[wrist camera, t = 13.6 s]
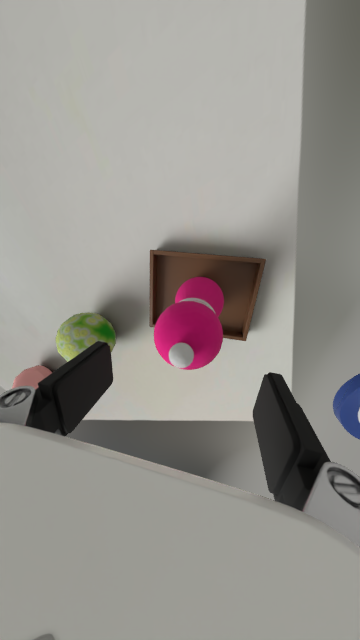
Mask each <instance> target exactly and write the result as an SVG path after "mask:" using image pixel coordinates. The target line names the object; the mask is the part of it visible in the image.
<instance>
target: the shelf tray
mask: <svg viewBox="0 0 360 640" xmlns="http://www.w3.org/2000/svg"><path fill="white" fill-rule="evenodd" d="M265 262H266V259H260V258H248V257H235V256H223V255H210V254H198V253H185V252H173V251H160V250H150V327H155V325H156V322H157V320H158V318H159V317H160V315H161V314H162V313H163V312H164V311H165V309H166V308H168V307H169V306H171V305H172V304H175V298H176V294H177V291H178V290H179V288H180V286H181V285H182V284H183V283H184V282H185V281H187V280H189V279H191V278H194V277H206V278H209V279H211V280H213V281H214V282H216V283H217V284H218V286H219V287H220V288H221V290H222V292H223V296H224V305H223V309H222V312H221V314H220V315H219V317H218V318H219V321H220V323H221V325H222V330H223V338H228V339H235V340H242V341H246V338H247V334H248V330H249V326H250V322H251V318H252V314H253V310H254V306H255V302H256V298H257V294H258V290H259V286H260V282H261V278H262V274H263V270H264V266H265Z"/></svg>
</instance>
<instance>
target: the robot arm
mask: <svg viewBox="0 0 360 640" xmlns="http://www.w3.org/2000/svg"><path fill="white" fill-rule="evenodd" d="M112 382H113V373H112V361H111V350H110V346H109V345H108V343H107V342H101V341H97V342H95V343H94V344H93V345H91V346H90V347H88V348H87V349H85V350H84V351H83V352H81V353H80V354H78V355H77V356H76V357H74V358H73V359H71V360H70V361H68V362H67V363H66V364H64V365H63V366H61V367H60V368H59V369H57V370H56V371H54V372H53V373H51V374H50V375H49V376H47V377H46V378H44V379H43V380H41V381H40V382H39V383H38V386H39V387H38V388H37V389H35V388H34V387H32V386H19V387H16V388H13V389H11V390H8V391H6V392H4V393H3V394H1V395H0V640H360V477H359V476H358V475H357V474H355V473H354V472H353V471H351V470H349V469H348V468H346V467H345V466H342V465H340V464H338V463H335V462H331V461H330V459H329V458H328V456H327V454H326V452H325V450H324V448H323V447H322V445H321V443H320V441H319V439H318V438H317V436H316V434H315V432H314V430H313V428H312V426H311V425H310V423H309V421H308V419H307V417H306V415H305V414H304V412H303V410H302V408H301V407H300V405H299V404H297V403H296V401H295V399H294V397H293V395H292V393H291V392H290V390H289V388H288V386H287V384H286V382H285V380H284V378H283V377H282V375H281V374H276V373H268V375H266V374H265V375H264V377H263V381H262V384H261V387H260V390H259V393H258V396H257V400H256V403H255V406H254V409H253V419H254V424H255V429H256V433H257V438H258V443H259V447H260V451H261V457H262V461H263V466H264V471H265V475H266V480H267V485H268V488H269V491H270V493H273V494H274V499H275V501H274V500H272V499H269V498H266V497H263V496H259V495H256V494H253V493H250V492H247V491H244V490H241V489H238V488H235V487H232V486H229V485H225V484H222V483H219V482H216V481H212V480H209V479H206V478H202V477H199V476H196V475H193V474H189V473H186V472H182V471H179V470H176V469H173V468H169V467H166V466H163V465H160V464H156V463H152V462H149V461H146V460H142V459H140V458H136V457H132V456H129V455H126V454H123V453H119V452H116V451H113V450H109V449H106V448H103V447H99V446H96V445H92V444H88V443H85V442H82V441H78V440H75V439H71V438H68V437H65V436H66V435H67V434H68V433H71V432H72V431H73V430H74V429H75V427H76V426H77V425H78V424H79V423H80V421H81V420H82V419H83V418H84V417H85V415H86V414H87V413H88V412H89V411H90V409H91V408H92V407H93V406H94V405H95V403H96V402H97V401H98V400H99V399H100V397H101V396H102V395H103V394H104V393H105V391H106V390H107V389H108V388H109V387H110V385H111V384H112ZM358 420H359V422H360V408H359V411H358Z"/></svg>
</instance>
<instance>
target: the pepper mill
mask: <svg viewBox="0 0 360 640" xmlns="http://www.w3.org/2000/svg"><path fill="white" fill-rule="evenodd" d="M223 305H224V296H223V292H222V290H221V288H220V287H219V286H218V284H217V283H216V282H214V281H213V280H211V279H209V278H206V277H194V278H191V279H189V280H187V281H185V282H184V283H183V284H182V285H181V286H180V288H179V290H178V291H177V294H176V298H175V304H172V305H171V306H169V307H168V308H166V309H165V311H164V312H163V313H162V314H161V315H160V317H159V318H158V320H157V322H156V325H155V328H154V341H155V345H156V348H157V350H158V352H159V354H160V355H161V356H162V358H163V359H164V360H165V361H166V362H167V363H169V364H171V365H172V366H175V367H177V368H180V369H185V370H192V369H198V368H201V367H203V366H205V365H207V364H209V363H210V362H211V361H212V360H213V359H214V358H215V357H216V356H217V354H218V353H219V351H220V349H221V345H222V341H223V330H222V325H221V323H220V321H219V318H218V317H219V315H220V314H221V312H222V309H223Z"/></svg>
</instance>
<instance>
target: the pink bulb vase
mask: <svg viewBox="0 0 360 640" xmlns="http://www.w3.org/2000/svg"><path fill="white" fill-rule="evenodd" d="M51 373H52V372H51V371H50V370H49V369H47V368H46V367H44V366H40V365H38V366H35V367H31V368H28V369H26V370H24V371H23V372H22V373H20V374H19V375H18V376H17V377H16V378H15V379H14V383H13V387H12V389H13V388H16V387H19V386H32V387H34V388H35V389H37V388H38V387H39V386H38V383H39V382H40V381H41V380H43V379H44V378H46V377H47V376H49V375H50V374H51Z"/></svg>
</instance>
